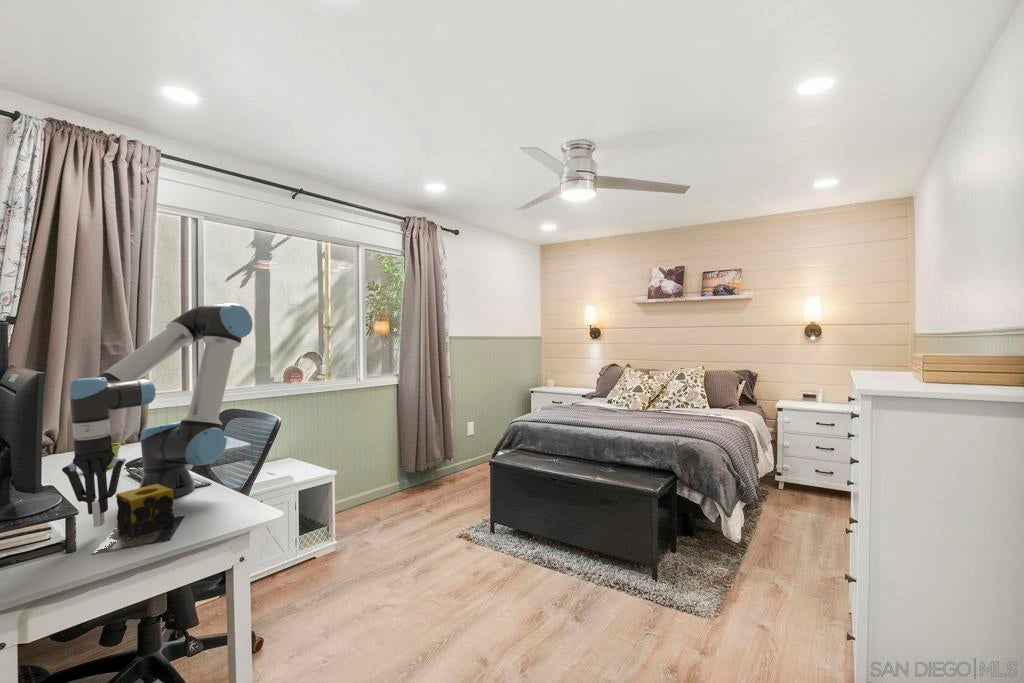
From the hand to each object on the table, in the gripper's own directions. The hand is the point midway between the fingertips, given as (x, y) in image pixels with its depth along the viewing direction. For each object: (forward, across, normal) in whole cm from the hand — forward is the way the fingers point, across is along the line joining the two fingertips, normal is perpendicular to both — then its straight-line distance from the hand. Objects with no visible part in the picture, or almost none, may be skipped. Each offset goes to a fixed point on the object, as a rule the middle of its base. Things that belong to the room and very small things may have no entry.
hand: (99, 524), depth 128 cm
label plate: (+3, +10, -4) cm, 11 cm away
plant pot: (+3, -23, +82) cm, 85 cm away
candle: (+3, +10, 0) cm, 11 cm away
